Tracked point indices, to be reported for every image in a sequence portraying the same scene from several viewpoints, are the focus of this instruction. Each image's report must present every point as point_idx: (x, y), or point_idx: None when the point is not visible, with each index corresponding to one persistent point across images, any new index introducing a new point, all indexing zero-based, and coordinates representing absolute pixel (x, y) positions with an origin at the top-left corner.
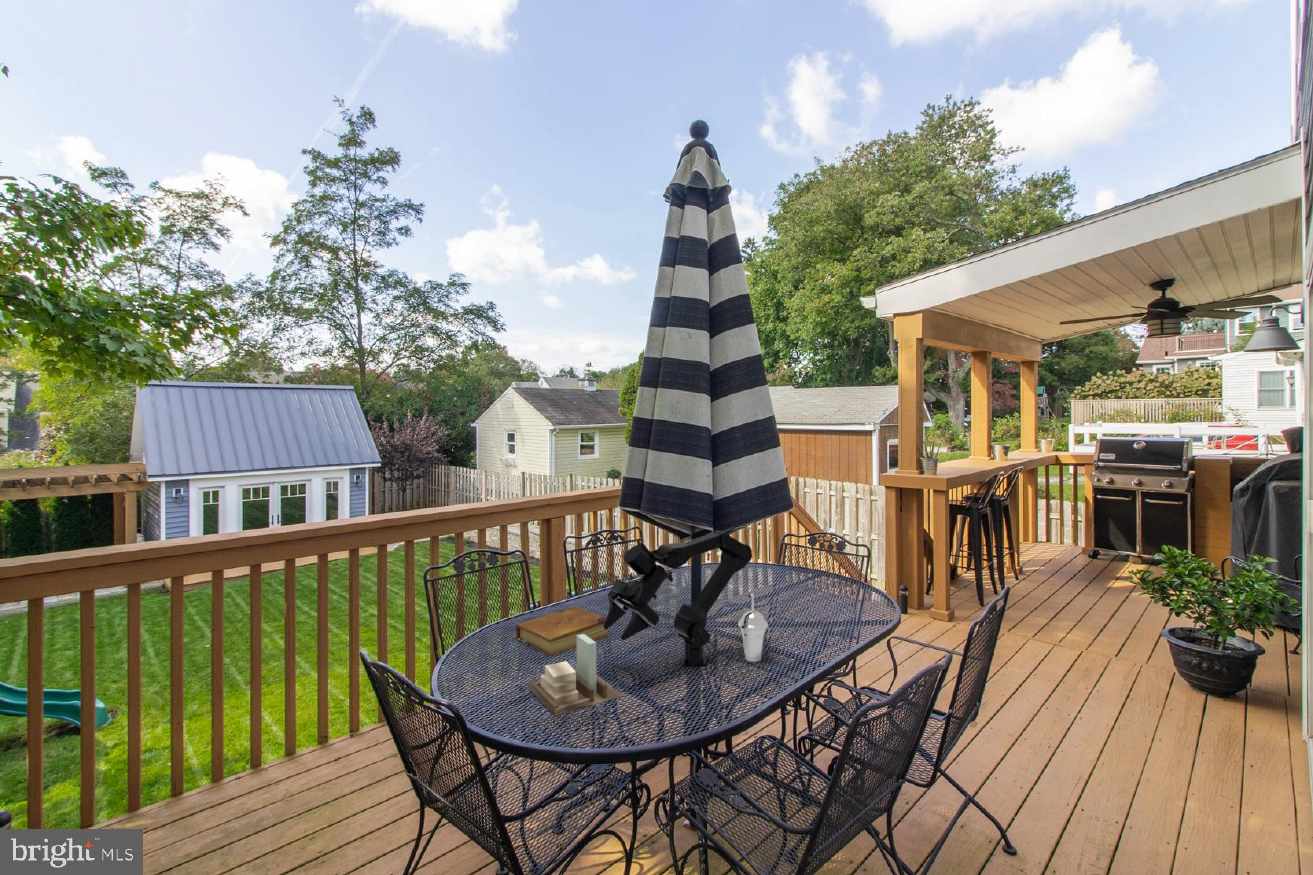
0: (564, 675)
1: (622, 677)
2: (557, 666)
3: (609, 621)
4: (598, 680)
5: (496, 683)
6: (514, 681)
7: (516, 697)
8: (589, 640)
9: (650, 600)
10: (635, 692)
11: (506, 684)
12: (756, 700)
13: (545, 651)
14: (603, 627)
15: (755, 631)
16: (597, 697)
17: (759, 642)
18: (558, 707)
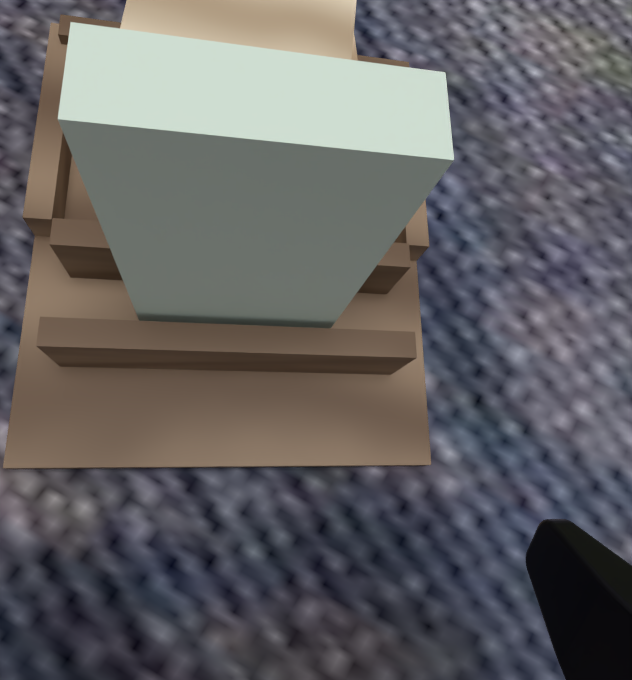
0: (128, 5)
1: (293, 628)
2: (293, 35)
3: (624, 665)
4: (148, 335)
5: (560, 47)
6: (546, 108)
7: (387, 46)
8: (186, 93)
9: None
10: (30, 595)
11: (532, 71)
12: None
13: None
14: (558, 520)
15: None
16: (97, 316)
17: None
18: (61, 42)
